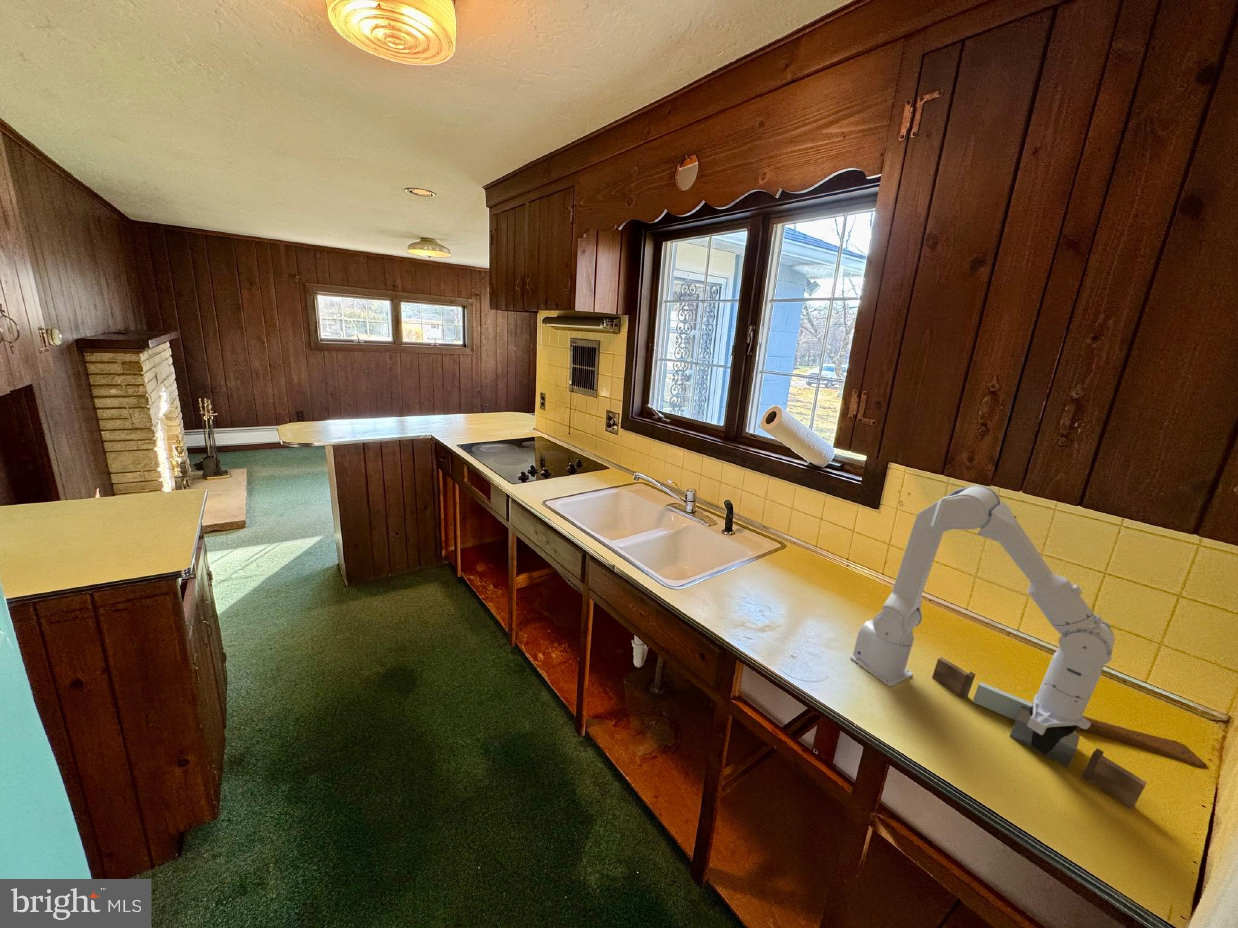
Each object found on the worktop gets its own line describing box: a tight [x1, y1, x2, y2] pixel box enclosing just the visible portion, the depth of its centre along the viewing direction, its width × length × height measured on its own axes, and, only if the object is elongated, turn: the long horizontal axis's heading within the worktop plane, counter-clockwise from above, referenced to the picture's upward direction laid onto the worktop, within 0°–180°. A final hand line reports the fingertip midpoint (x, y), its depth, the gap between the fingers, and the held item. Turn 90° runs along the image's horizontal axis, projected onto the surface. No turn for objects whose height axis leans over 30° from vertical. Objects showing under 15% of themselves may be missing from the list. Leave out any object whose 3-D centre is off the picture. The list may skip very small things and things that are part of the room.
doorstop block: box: [1009, 706, 1081, 769], centre depth 83 cm, size 8×5×4 cm, turn 41°
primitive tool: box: [1076, 715, 1208, 769], centre depth 84 cm, size 19×6×4 cm, turn 75°
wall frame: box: [931, 656, 1148, 810], centre depth 84 cm, size 30×2×6 cm, turn 28°
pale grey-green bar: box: [972, 681, 1033, 721], centre depth 87 cm, size 14×2×4 cm, turn 51°
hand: (1040, 748), depth 80 cm, fingers closed
